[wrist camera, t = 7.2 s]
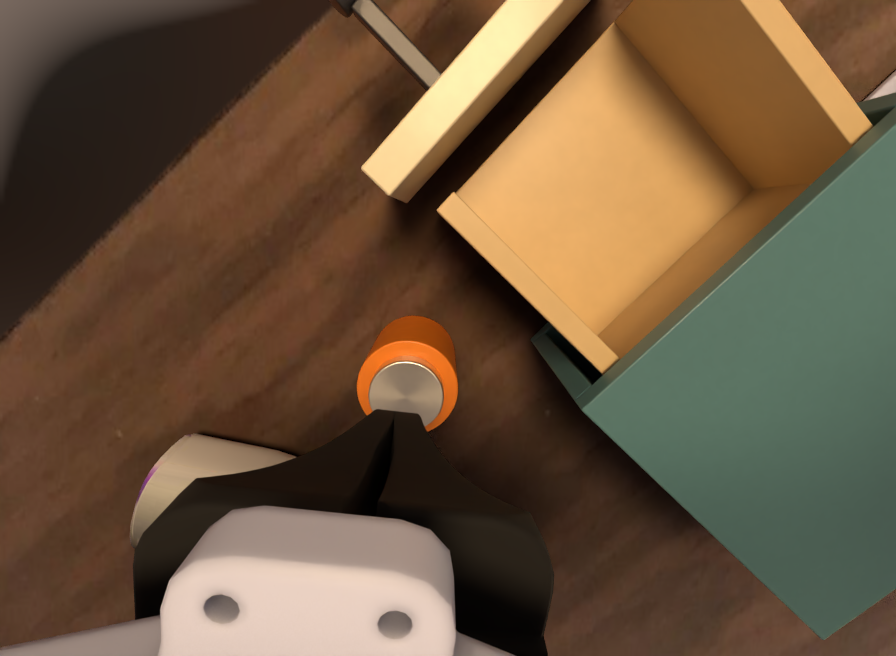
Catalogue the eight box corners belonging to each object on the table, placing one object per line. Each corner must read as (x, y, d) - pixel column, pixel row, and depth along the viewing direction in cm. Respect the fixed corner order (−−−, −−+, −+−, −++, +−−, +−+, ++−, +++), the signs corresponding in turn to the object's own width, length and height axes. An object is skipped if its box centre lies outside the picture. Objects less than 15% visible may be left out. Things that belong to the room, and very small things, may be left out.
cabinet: (529, 339, 23) (581, 410, 15) (740, 134, 21) (948, 76, 12) (695, 499, 25) (823, 641, 17) (900, 330, 23) (1167, 395, 15)
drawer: (306, 106, 19) (234, 46, 13) (510, -144, 17) (554, -373, 11) (572, 365, 22) (630, 430, 16) (773, 178, 20) (938, 158, 14)
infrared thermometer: (167, 626, 28) (179, 418, 24) (359, 659, 29) (405, 463, 24) (116, 707, 24) (118, 470, 19) (343, 743, 25) (395, 523, 20)
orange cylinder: (412, 298, 22) (402, 324, 17) (471, 353, 23) (480, 395, 18) (356, 356, 23) (330, 399, 18) (416, 408, 24) (409, 464, 18)
